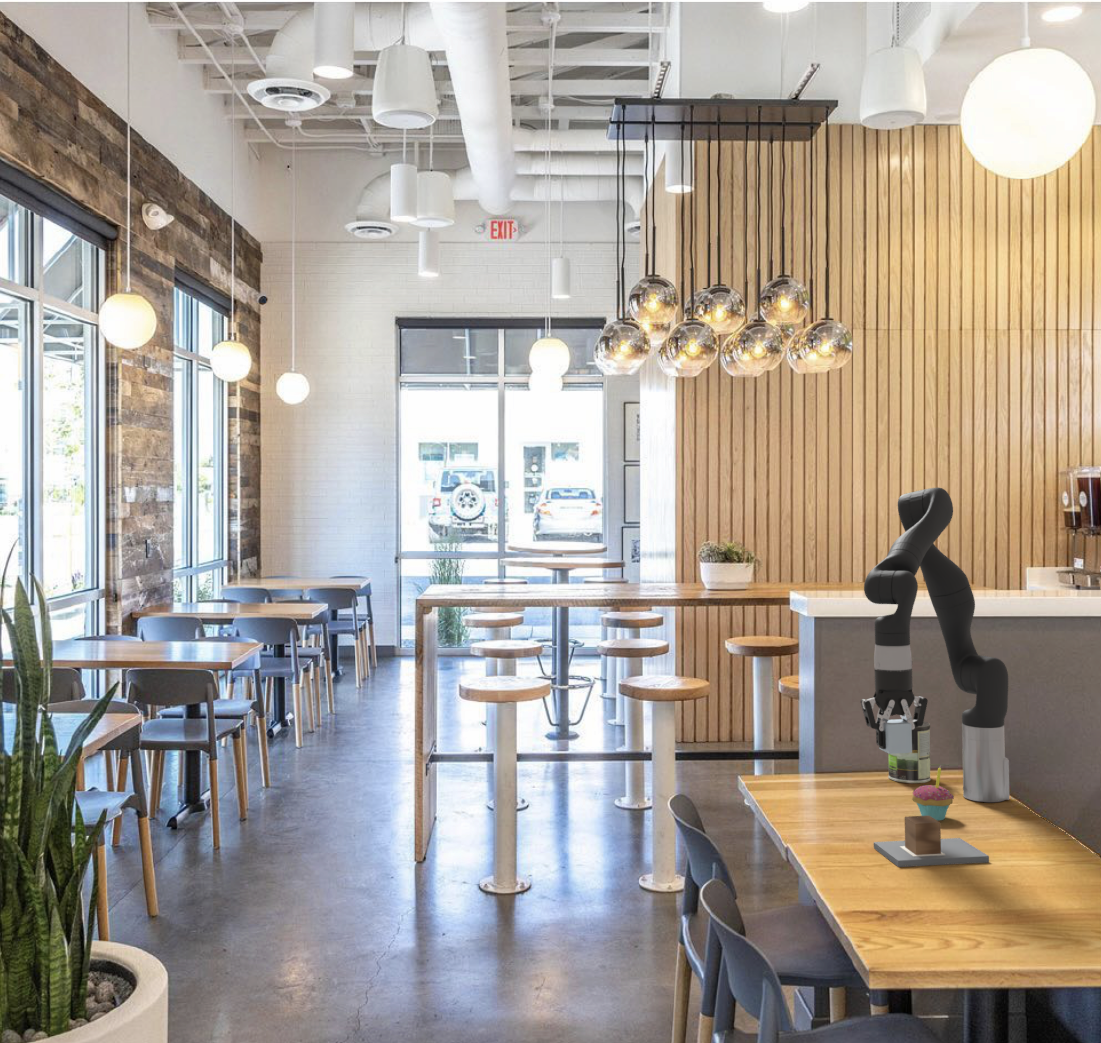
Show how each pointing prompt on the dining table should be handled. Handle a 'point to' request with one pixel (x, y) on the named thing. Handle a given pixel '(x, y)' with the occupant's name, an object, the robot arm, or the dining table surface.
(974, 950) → the dining table surface
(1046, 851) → the dining table surface
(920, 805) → the cupcake
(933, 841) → the walnut block
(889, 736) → the greyblue block
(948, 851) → the grey flat plate
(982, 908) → the dining table surface
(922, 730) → the coffee can
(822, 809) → the dining table surface
